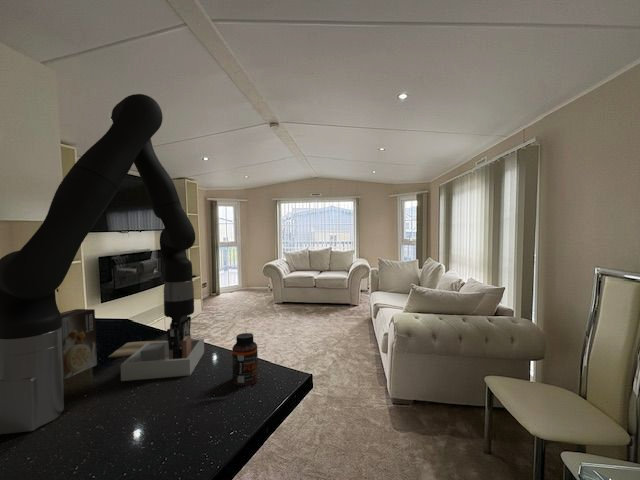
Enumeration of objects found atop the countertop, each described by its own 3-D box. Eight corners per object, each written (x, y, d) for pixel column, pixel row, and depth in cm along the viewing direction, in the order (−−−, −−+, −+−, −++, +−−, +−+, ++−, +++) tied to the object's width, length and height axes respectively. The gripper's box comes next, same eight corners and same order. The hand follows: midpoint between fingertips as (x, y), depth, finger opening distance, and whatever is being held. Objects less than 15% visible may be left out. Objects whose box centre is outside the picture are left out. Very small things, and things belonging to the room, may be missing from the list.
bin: (190, 377, 77) (189, 359, 77) (121, 383, 75) (120, 364, 75) (204, 353, 93) (203, 338, 93) (147, 358, 90) (147, 342, 90)
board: (152, 356, 92) (152, 353, 92) (108, 359, 90) (108, 356, 90) (166, 342, 103) (166, 339, 103) (127, 345, 102) (127, 342, 102)
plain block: (159, 368, 81) (158, 349, 81) (140, 370, 81) (140, 351, 81) (165, 361, 86) (164, 344, 86) (147, 363, 85) (147, 345, 85)
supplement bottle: (245, 390, 70) (244, 340, 70) (227, 384, 73) (226, 336, 73) (263, 379, 75) (262, 333, 75) (245, 374, 78) (244, 330, 78)
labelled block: (187, 366, 82) (186, 340, 82) (169, 367, 82) (168, 341, 82) (191, 359, 87) (190, 335, 87) (174, 361, 86) (173, 336, 86)
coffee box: (78, 365, 86) (77, 308, 86) (97, 366, 85) (96, 308, 85) (43, 380, 77) (41, 316, 77) (64, 382, 76) (62, 317, 76)
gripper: (186, 302, 78) (187, 369, 78) (199, 292, 92) (200, 349, 92) (154, 303, 76) (156, 371, 77) (172, 293, 91) (174, 350, 91)
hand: (180, 358), depth 84 cm, fingers closed on labelled block, 4 cm apart
